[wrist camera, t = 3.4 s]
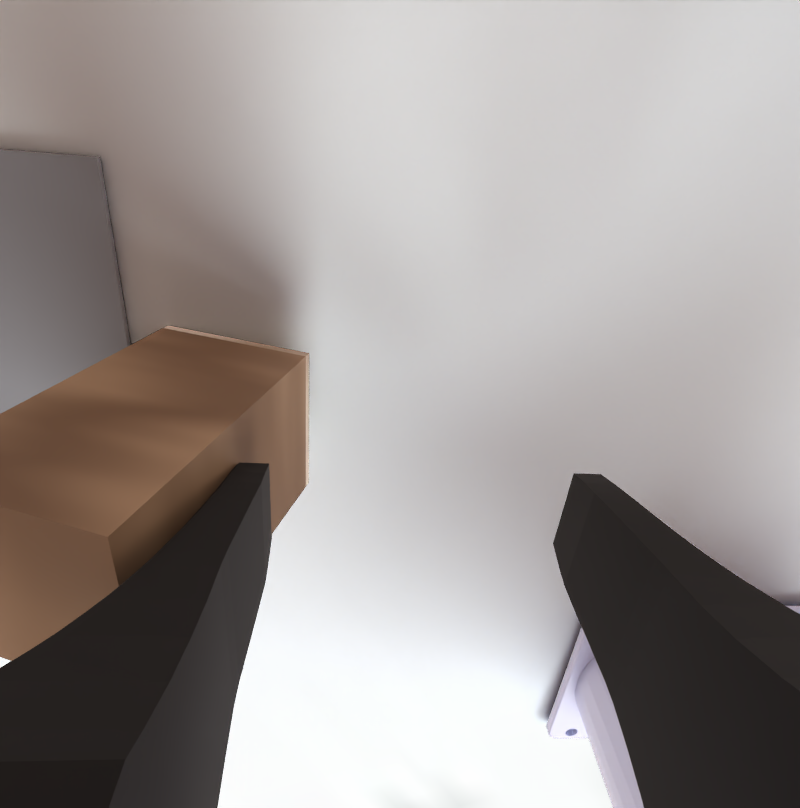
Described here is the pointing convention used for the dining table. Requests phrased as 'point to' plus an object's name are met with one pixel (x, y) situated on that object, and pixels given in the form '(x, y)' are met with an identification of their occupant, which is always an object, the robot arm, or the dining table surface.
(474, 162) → the dining table surface
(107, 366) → the walnut block
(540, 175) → the dining table surface
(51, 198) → the slate mat
